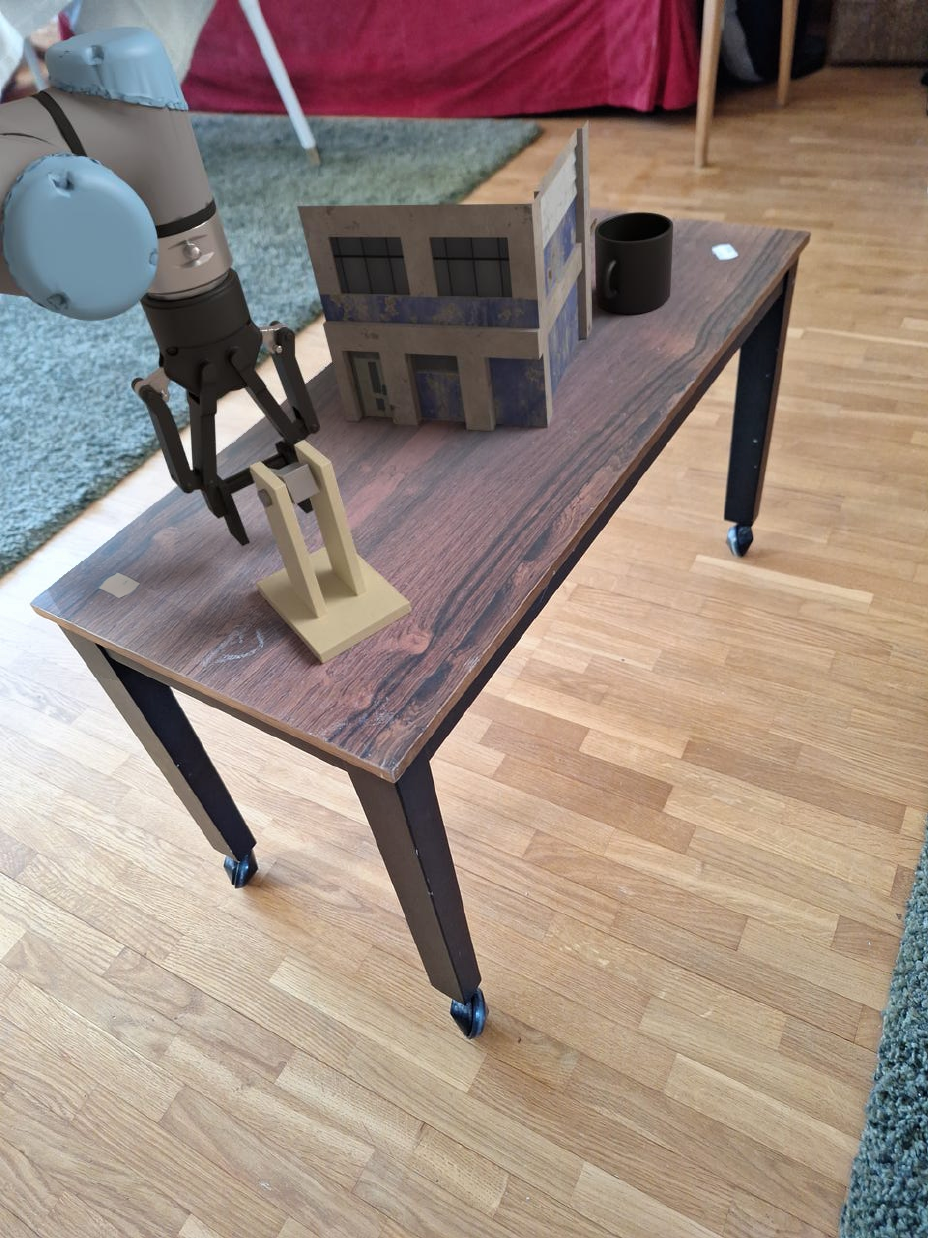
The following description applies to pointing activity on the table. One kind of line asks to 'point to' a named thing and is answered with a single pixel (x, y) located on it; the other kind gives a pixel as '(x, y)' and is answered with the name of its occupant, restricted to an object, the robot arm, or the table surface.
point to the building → (457, 300)
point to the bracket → (323, 567)
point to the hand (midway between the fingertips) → (272, 521)
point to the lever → (291, 475)
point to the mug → (633, 262)
